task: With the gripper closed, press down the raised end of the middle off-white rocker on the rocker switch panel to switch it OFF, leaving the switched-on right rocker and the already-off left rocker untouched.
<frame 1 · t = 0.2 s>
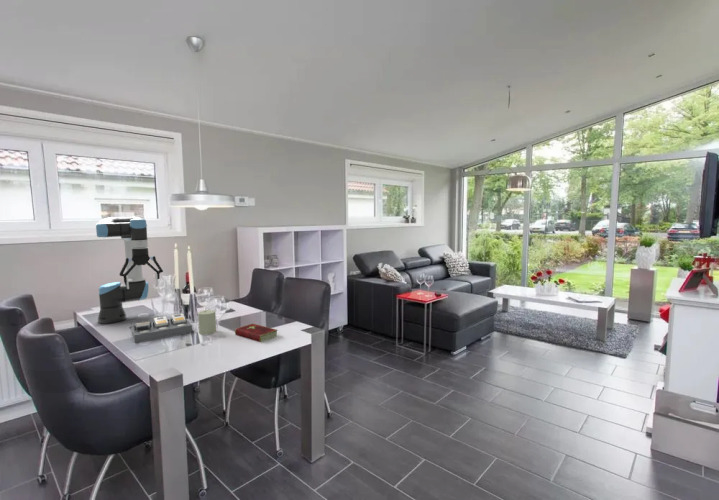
hand: (142, 286, 201), 27 cm above the table, tool pointing down, fingers open, 13 cm apart
rocker switch panel: (162, 333, 207), on the table
hardcover book: (256, 336, 202), on the table
rocker middle: (160, 321, 209), point 6 cm above the table, hinge at 13.0°
can: (207, 332, 209), on the table
rocker 1: (142, 324, 203), point 6 cm above the table, hinge at -13.0°
rocker 2: (178, 318, 214), point 6 cm above the table, hinge at 13.0°
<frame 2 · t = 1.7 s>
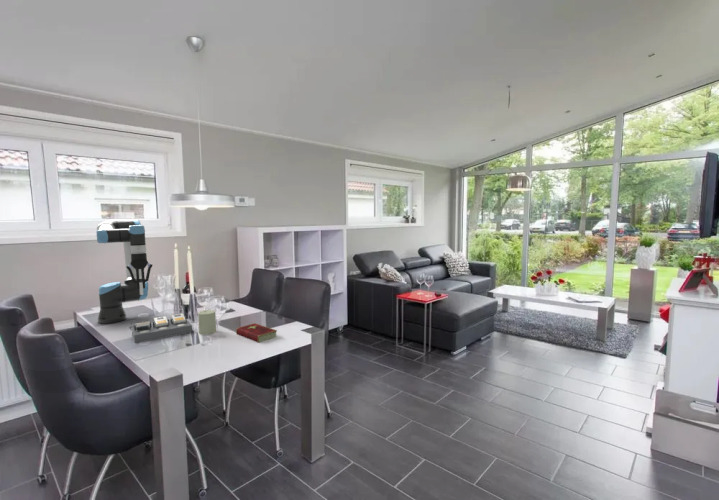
hand: (141, 294, 210), 21 cm above the table, tool pointing down, fingers closed
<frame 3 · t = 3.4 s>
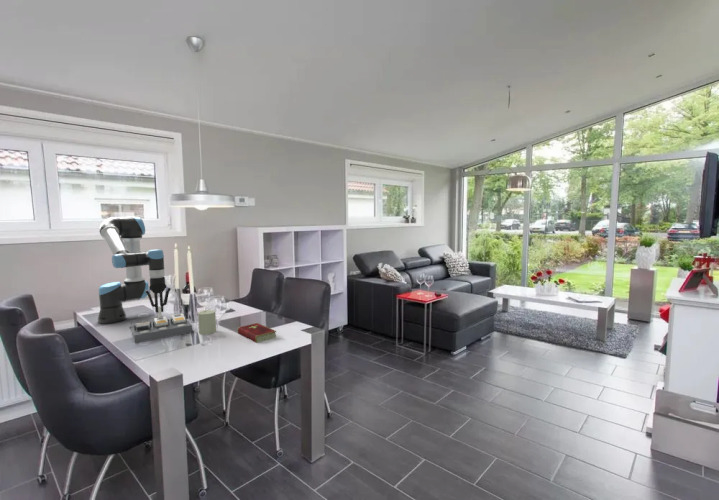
hand: (159, 317, 211), 8 cm above the table, tool pointing down, fingers closed
rocker middle: (160, 321, 209), point 6 cm above the table, hinge at 9.8°, touching gripper
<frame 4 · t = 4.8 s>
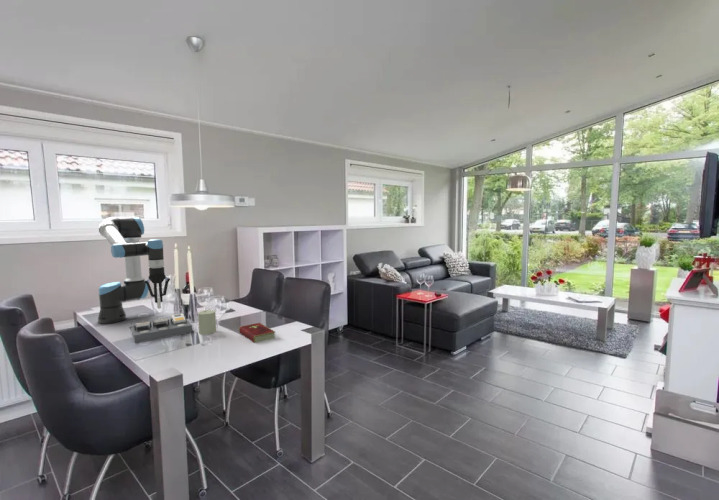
hand: (159, 308, 210), 13 cm above the table, tool pointing down, fingers closed
rocker middle: (160, 321, 209), point 6 cm above the table, hinge at -19.8°
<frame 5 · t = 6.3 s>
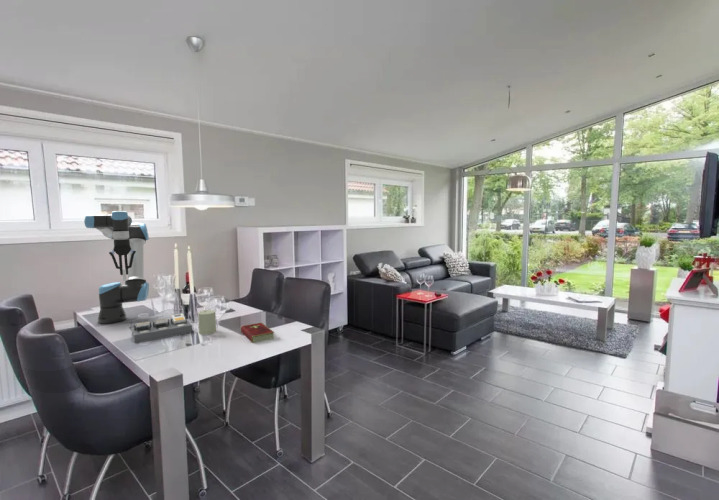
hand: (124, 280, 209), 29 cm above the table, tool pointing down, fingers closed
rocker middle: (160, 321, 209), point 6 cm above the table, hinge at -14.9°
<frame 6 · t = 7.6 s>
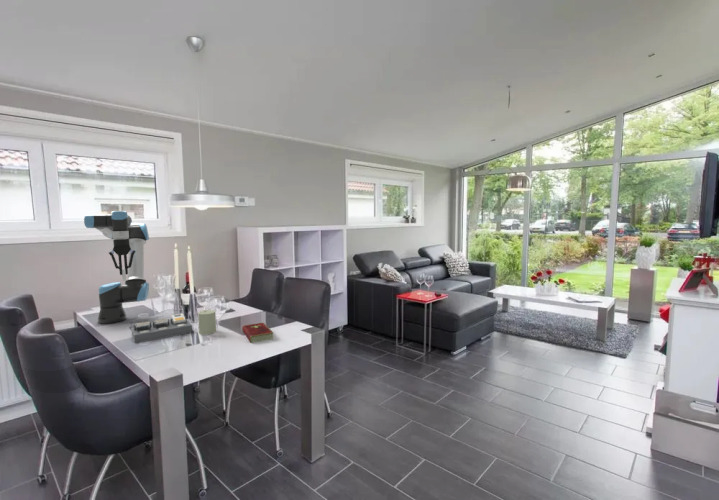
hand: (124, 280, 209), 29 cm above the table, tool pointing down, fingers closed
rocker middle: (160, 321, 209), point 6 cm above the table, hinge at -13.6°
at the end: rocker middle at -14° (first picture: +13°); rocker 2 at +13° (first picture: +13°); rocker 1 at -13° (first picture: -13°) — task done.
